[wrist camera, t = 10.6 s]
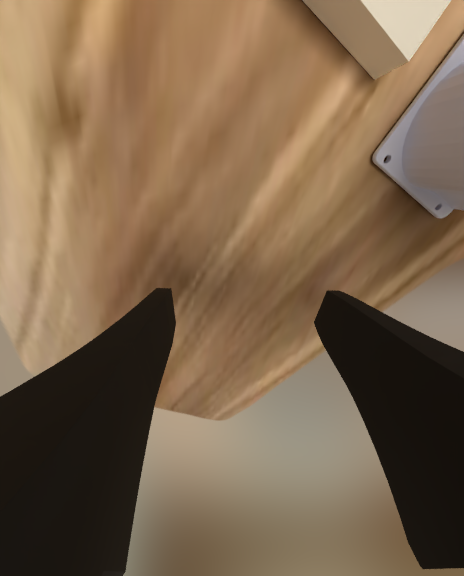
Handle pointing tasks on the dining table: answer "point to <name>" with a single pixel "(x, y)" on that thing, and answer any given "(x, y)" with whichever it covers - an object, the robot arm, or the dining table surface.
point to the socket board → (379, 28)
